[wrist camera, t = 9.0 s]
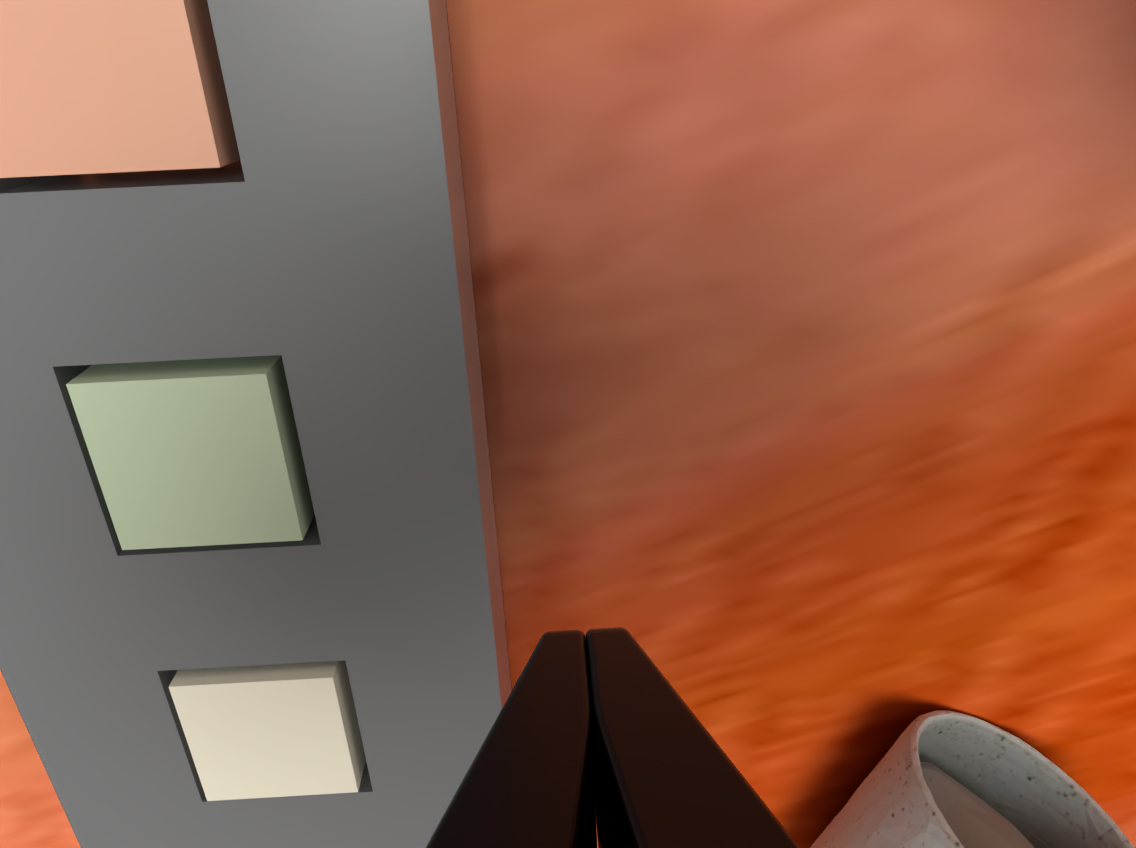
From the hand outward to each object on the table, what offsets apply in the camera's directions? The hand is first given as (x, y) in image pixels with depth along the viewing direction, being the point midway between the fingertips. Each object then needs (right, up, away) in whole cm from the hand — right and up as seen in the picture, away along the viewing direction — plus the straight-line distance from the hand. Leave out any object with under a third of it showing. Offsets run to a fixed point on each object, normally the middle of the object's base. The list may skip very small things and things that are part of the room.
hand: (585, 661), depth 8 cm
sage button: (-8, +3, +11) cm, 14 cm away
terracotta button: (-9, +10, +7) cm, 15 cm away
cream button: (-8, -5, +14) cm, 17 cm away
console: (-8, +3, +12) cm, 15 cm away
